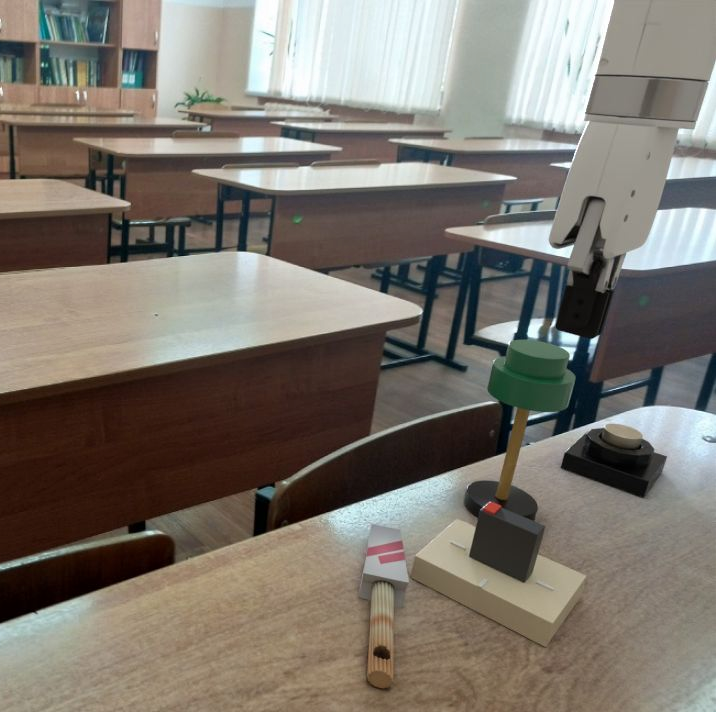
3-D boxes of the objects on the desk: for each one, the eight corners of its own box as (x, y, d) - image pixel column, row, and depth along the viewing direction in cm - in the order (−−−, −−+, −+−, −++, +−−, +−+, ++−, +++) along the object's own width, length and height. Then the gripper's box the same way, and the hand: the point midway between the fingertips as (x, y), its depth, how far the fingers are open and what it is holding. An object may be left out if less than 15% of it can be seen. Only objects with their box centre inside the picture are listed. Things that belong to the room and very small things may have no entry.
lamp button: (642, 444, 88) (646, 431, 88) (633, 455, 85) (637, 441, 85) (605, 433, 91) (609, 420, 90) (596, 442, 88) (600, 429, 87)
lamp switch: (662, 472, 90) (671, 443, 88) (643, 498, 83) (653, 467, 82) (583, 445, 95) (590, 417, 94) (560, 467, 89) (568, 438, 88)
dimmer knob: (532, 573, 65) (546, 523, 63) (524, 583, 64) (538, 532, 62) (477, 547, 68) (489, 499, 66) (468, 556, 67) (480, 507, 65)
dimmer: (580, 598, 66) (587, 573, 65) (545, 648, 60) (552, 622, 59) (452, 539, 74) (457, 516, 73) (409, 578, 68) (414, 554, 67)
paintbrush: (409, 518, 71) (408, 672, 54) (404, 541, 72) (401, 699, 55) (368, 510, 72) (354, 659, 55) (364, 532, 73) (349, 686, 56)
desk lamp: (547, 511, 80) (591, 351, 73) (521, 538, 75) (566, 369, 68) (478, 483, 85) (514, 331, 78) (449, 507, 80) (485, 346, 73)
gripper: (618, 104, 63) (563, 307, 69) (553, 99, 53) (496, 336, 60) (722, 111, 58) (652, 329, 65) (672, 106, 48) (595, 365, 55)
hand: (577, 332), depth 62 cm, fingers closed
